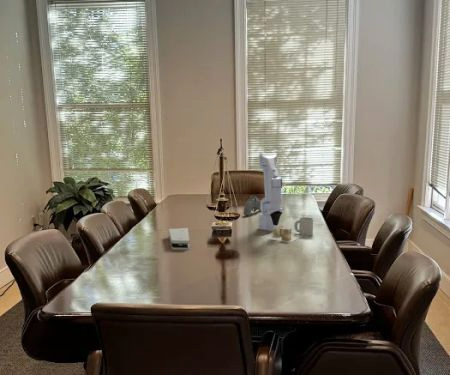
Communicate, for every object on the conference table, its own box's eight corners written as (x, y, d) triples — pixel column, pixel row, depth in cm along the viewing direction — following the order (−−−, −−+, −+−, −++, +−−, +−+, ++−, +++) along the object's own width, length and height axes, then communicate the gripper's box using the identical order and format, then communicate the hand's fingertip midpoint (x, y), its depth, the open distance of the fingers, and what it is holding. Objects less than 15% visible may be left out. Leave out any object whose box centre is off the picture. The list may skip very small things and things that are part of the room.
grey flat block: (190, 250, 209) (190, 240, 208) (168, 251, 208) (167, 241, 207) (188, 236, 235) (188, 228, 234) (168, 237, 233) (168, 228, 233)
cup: (312, 236, 230) (312, 220, 229) (293, 235, 232) (294, 219, 231) (312, 233, 237) (313, 217, 236) (294, 232, 239) (294, 216, 238)
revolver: (262, 223, 298) (266, 203, 302) (248, 214, 280) (253, 192, 284) (255, 222, 301) (260, 202, 304) (241, 213, 283) (246, 192, 286)
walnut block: (272, 228, 231) (279, 225, 236) (272, 235, 231) (279, 232, 237) (279, 229, 228) (286, 226, 234) (279, 236, 229) (286, 233, 235)
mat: (259, 238, 228) (259, 237, 228) (274, 232, 241) (274, 231, 241) (289, 243, 217) (289, 242, 217) (303, 236, 230) (303, 235, 230)
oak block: (281, 240, 222) (281, 228, 221) (284, 238, 225) (284, 227, 225) (288, 240, 220) (288, 229, 219) (291, 239, 224) (291, 227, 223)
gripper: (275, 202, 219) (275, 228, 221) (288, 198, 230) (288, 223, 232) (263, 201, 223) (263, 227, 225) (277, 197, 234) (277, 221, 236)
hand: (275, 225), depth 229 cm, fingers closed
